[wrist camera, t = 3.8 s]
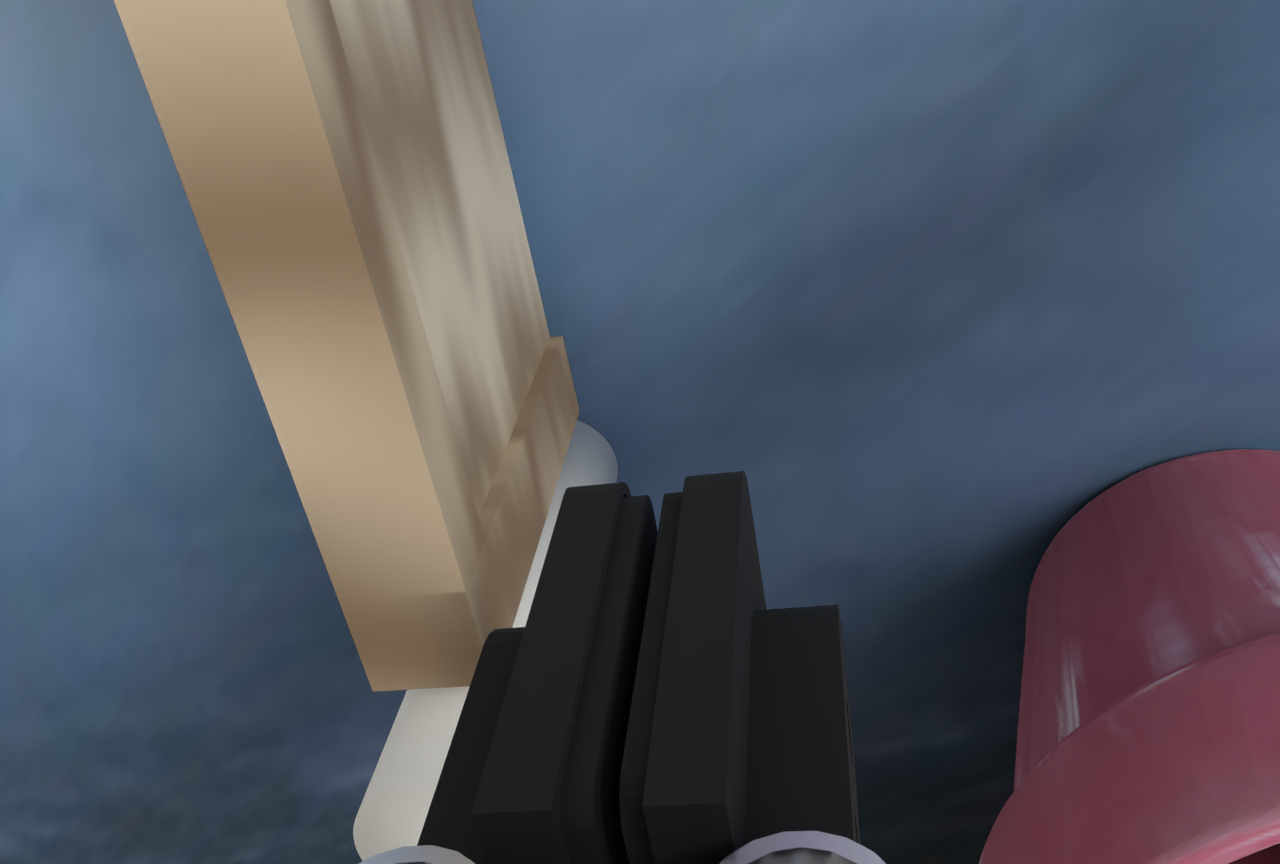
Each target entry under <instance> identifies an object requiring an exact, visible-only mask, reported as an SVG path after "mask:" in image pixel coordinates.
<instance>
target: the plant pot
mask: <svg viewBox="0 0 1280 864" xmlns="http://www.w3.org/2000/svg"><path fill="white" fill-rule="evenodd" d="M979 864H1280V451H1272V450H1255V449H1235V450H1222V451H1214V452H1206V453H1200V454H1196V455H1191V456H1186V457H1182V458H1178V459H1175V460H1171V461H1168V462H1165V463H1162V464H1159V465H1156V466H1153V467H1150V468H1147V469H1145V470H1143V471H1140V472H1138V473H1136V474H1134V475H1132V476H1130V477H1128V478H1126V479H1125V480H1123V481H1121V482H1119V483H1117V484H1116V485H1114V486H1112V487H1111V488H1109V489H1107V490H1106V491H1104V492H1103V493H1102V494H1100V495H1099V496H1097V497H1096V498H1095V499H1093V500H1092V501H1090V502H1089V503H1088V504H1087V505H1086V506H1084V507H1083V508H1082V509H1081V510H1080V511H1079V512H1078V513H1077V514H1075V515H1074V516H1073V517H1072V518H1071V519H1070V520H1069V521H1068V523H1067V524H1066V525H1065V526H1064V527H1063V528H1062V529H1061V530H1060V531H1059V532H1058V534H1057V535H1056V536H1055V538H1054V539H1053V540H1052V542H1051V543H1050V545H1049V546H1048V548H1047V550H1046V551H1045V553H1044V555H1043V556H1042V559H1041V561H1040V563H1039V565H1038V567H1037V569H1036V572H1035V574H1034V577H1033V580H1032V584H1031V588H1030V592H1029V596H1028V604H1027V612H1026V635H1025V650H1024V661H1023V671H1022V683H1021V695H1020V707H1019V719H1018V732H1017V747H1016V763H1015V779H1014V792H1013V794H1012V795H1011V796H1010V798H1009V799H1008V800H1007V802H1006V803H1005V804H1004V806H1003V808H1002V810H1001V812H1000V814H999V815H998V817H997V819H996V821H995V823H994V825H993V827H992V830H991V832H990V834H989V837H988V839H987V841H986V844H985V846H984V849H983V851H982V855H981V858H980V862H979Z"/></svg>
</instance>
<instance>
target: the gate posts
mask: <svg viewBox="0 0 1280 864" xmlns="http://www.w3.org/2000/svg"><path fill="white" fill-rule="evenodd" d="M617 477H618V464H617V459H616V456H615V454H614V451H613V449H612V447H611V446H610V444H609V443H608V442H607V440H606V439H605V438H604V437H603V436H602V435H601V434H600V433H599V432H598V431H596V430H595V429H594V428H592V427H591V426H589V425H587V424H586V423H583V422H581V421H579V420H577V421H576V424H575V428H574V431H573V434H572V437H571V441H570V444H569V447H568V450H567V453H566V457H565V460H564V463H563V466H562V469H561V473H560V476H559V479H558V482H557V486H556V489H555V492H554V495H553V498H552V502H551V505H550V508H549V511H548V515H547V518H546V521H545V524H544V527H543V531H542V534H541V537H540V540H539V543H538V547H537V550H536V553H535V556H534V560H533V563H532V566H531V569H530V572H529V576H528V579H527V582H526V585H525V589H524V592H523V595H522V598H521V601H520V605H519V608H518V611H517V614H516V617H515V621H514V624H513V627H512V628H517V627H525V626H526V622H527V619H528V615H529V612H530V609H531V605H532V602H533V598H534V595H535V591H536V588H537V585H538V581H539V578H540V574H541V571H542V567H543V564H544V560H545V557H546V554H547V550H548V547H549V543H550V540H551V536H552V533H553V530H554V526H555V523H556V519H557V516H558V512H559V509H560V506H561V502H562V499H563V495H564V493H565V490H566V488H569V487H576V486H587V485H598V484H609V483H617ZM469 687H470V686H465V687H447V688H429V689H410V690H407V691H406V694H405V696H404V699H403V701H402V704H401V706H400V709H399V711H398V714H397V716H396V719H395V721H394V724H393V726H392V729H391V731H390V734H389V736H388V739H387V741H386V744H385V746H384V749H383V751H382V754H381V756H380V759H379V761H378V764H377V766H376V769H375V771H374V774H373V776H372V779H371V781H370V784H369V786H368V789H367V791H366V794H365V796H364V799H363V801H362V804H361V806H360V809H359V811H358V814H357V816H356V819H355V822H354V826H353V837H354V843H355V846H356V849H357V851H358V853H359V855H360V857H361V859H362V860H363V861H364V860H366V859H368V858H370V857H371V856H373V855H376V854H379V853H383V852H386V851H390V850H393V849H397V848H400V847H403V846H417V844H418V841H419V838H420V835H421V832H422V829H423V826H424V823H425V820H426V817H427V814H428V811H429V808H430V805H431V802H432V799H433V796H434V793H435V790H436V787H437V784H438V781H439V778H440V775H441V772H442V769H443V765H444V762H445V759H446V756H447V753H448V750H449V747H450V744H451V741H452V738H453V735H454V732H455V729H456V726H457V723H458V720H459V717H460V714H461V711H462V708H463V705H464V702H465V699H466V696H467V693H468V690H469Z"/></svg>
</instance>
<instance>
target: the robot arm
mask: <svg viewBox="0 0 1280 864" xmlns="http://www.w3.org/2000/svg"><path fill="white" fill-rule="evenodd" d="M359 864H886V863H885V862H884V861H883V860H882V859H881V858H880V857H879V856H878V855H877V854H876V853H875V852H873V851H871V850H869V849H867V848H866V847H864V846H862V845H861V842H860V829H859V816H858V803H857V789H856V776H855V763H854V750H853V739H852V727H851V717H850V706H849V696H848V686H847V676H846V667H845V658H844V649H843V640H842V631H841V622H840V614H839V607H838V605H829V606H814V607H800V608H786V609H772V610H766V604H765V597H764V591H763V584H762V577H761V570H760V564H759V557H758V550H757V543H756V536H755V530H754V523H753V516H752V509H751V503H750V496H749V489H748V484H747V479H746V475H745V472H744V471H740V472H729V473H718V474H707V475H696V476H687V477H686V478H685V481H684V488H683V492H678V493H667V494H665V495H664V498H663V504H662V510H661V516H660V523H659V529H658V531H657V526H656V521H655V516H654V511H653V507H652V503H651V500H650V497H649V496H648V495H644V496H633V497H631V494H630V491H629V488H628V486H627V484H626V483H625V482H620V483H609V484H598V485H587V486H576V487H569V488H566V490H565V493H564V495H563V499H562V502H561V506H560V509H559V512H558V516H557V519H556V523H555V526H554V530H553V533H552V536H551V540H550V543H549V547H548V550H547V554H546V557H545V560H544V564H543V567H542V571H541V574H540V578H539V581H538V585H537V588H536V591H535V595H534V598H533V602H532V605H531V609H530V612H529V615H528V619H527V622H526V626H525V627H517V628H503V629H495V630H493V631H492V632H491V633H489V635H488V637H487V639H486V641H485V643H484V645H483V648H482V651H481V654H480V657H479V660H478V663H477V666H476V669H475V672H474V675H473V678H472V681H471V684H470V687H469V690H468V693H467V696H466V699H465V702H464V705H463V708H462V711H461V714H460V717H459V720H458V723H457V726H456V729H455V732H454V735H453V738H452V741H451V744H450V747H449V750H448V753H447V756H446V759H445V762H444V765H443V769H442V772H441V775H440V778H439V781H438V784H437V787H436V790H435V793H434V796H433V799H432V802H431V805H430V808H429V811H428V814H427V817H426V820H425V823H424V826H423V829H422V832H421V835H420V838H419V841H418V844H417V846H403V847H400V848H397V849H393V850H390V851H386V852H383V853H379V854H376V855H373V856H371V857H370V858H368V859H366V860H364V861H362V862H360V863H359Z"/></svg>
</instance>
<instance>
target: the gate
mask: <svg viewBox="0 0 1280 864" xmlns="http://www.w3.org/2000/svg"><path fill="white" fill-rule="evenodd" d="M114 3H115V5H116V8H117V11H118V13H119V16H120V19H121V21H122V24H123V27H124V29H125V32H126V35H127V37H128V40H129V43H130V45H131V48H132V51H133V53H134V56H135V59H136V61H137V64H138V67H139V69H140V72H141V75H142V77H143V80H144V83H145V85H146V88H147V91H148V93H149V96H150V99H151V101H152V104H153V107H154V109H155V112H156V115H157V117H158V120H159V123H160V125H161V128H162V131H163V133H164V136H165V139H166V141H167V144H168V147H169V149H170V152H171V155H172V157H173V160H174V163H175V165H176V168H177V171H178V173H179V176H180V179H181V181H182V184H183V187H184V189H185V192H186V195H187V197H188V200H189V203H190V205H191V208H192V211H193V213H194V216H195V219H196V221H197V224H198V227H199V229H200V232H201V235H202V237H203V240H204V243H205V245H206V248H207V251H208V253H209V256H210V259H211V261H212V264H213V267H214V269H215V272H216V275H217V277H218V280H219V283H220V285H221V288H222V291H223V293H224V296H225V299H226V301H227V304H228V307H229V309H230V312H231V315H232V317H233V320H234V323H235V325H236V328H237V331H238V333H239V336H240V339H241V341H242V344H243V347H244V349H245V352H246V355H247V357H248V360H249V363H250V365H251V368H252V371H253V373H254V376H255V379H256V381H257V384H258V387H259V389H260V392H261V395H262V397H263V400H264V403H265V405H266V408H267V411H268V413H269V416H270V419H271V421H272V424H273V427H274V429H275V432H276V435H277V437H278V440H279V443H280V445H281V448H282V451H283V453H284V456H285V459H286V461H287V464H288V467H289V469H290V472H291V475H292V477H293V480H294V483H295V485H296V488H297V491H298V493H299V496H300V499H301V501H302V504H303V507H304V509H305V512H306V515H307V517H308V520H309V523H310V525H311V528H312V531H313V533H314V536H315V539H316V541H317V544H318V547H319V549H320V552H321V555H322V557H323V560H324V563H325V565H326V568H327V571H328V573H329V576H330V579H331V581H332V584H333V587H334V589H335V592H336V595H337V597H338V600H339V603H340V605H341V608H342V611H343V613H344V616H345V619H346V621H347V624H348V627H349V629H350V632H351V635H352V637H353V640H354V643H355V645H356V648H357V651H358V653H359V656H360V659H361V661H362V664H363V667H364V669H365V672H366V675H367V677H368V680H369V683H370V685H371V688H372V691H373V692H374V691H392V690H410V689H429V688H447V687H465V686H470V684H471V681H472V678H473V675H474V672H475V669H476V666H477V663H478V660H479V657H480V654H481V651H482V648H483V645H484V643H485V641H486V639H487V637H488V635H489V633H491V632H492V631H493V630H495V629H503V628H512V627H513V624H514V621H515V617H516V614H517V611H518V608H519V605H520V601H521V598H522V595H523V592H524V589H525V585H526V582H527V579H528V576H529V572H530V569H531V566H532V563H533V560H534V556H535V553H536V550H537V547H538V543H539V540H540V537H541V534H542V531H543V527H544V524H545V521H546V518H547V515H548V511H549V508H550V505H551V502H552V498H553V495H554V492H555V489H556V486H557V482H558V479H559V476H560V473H561V469H562V466H563V463H564V460H565V457H566V453H567V450H568V447H569V444H570V441H571V437H572V434H573V431H574V428H575V424H576V421H577V418H578V415H579V412H580V410H579V406H578V402H577V397H576V393H575V388H574V384H573V379H572V375H571V370H570V366H569V362H568V357H567V353H566V348H565V344H564V339H563V336H556V337H550V335H549V330H548V326H547V322H546V317H545V313H544V309H543V304H542V300H541V296H540V291H539V287H538V283H537V278H536V274H535V270H534V265H533V261H532V257H531V252H530V248H529V244H528V240H527V235H526V231H525V227H524V222H523V218H522V214H521V209H520V205H519V201H518V196H517V192H516V188H515V183H514V179H513V175H512V170H511V166H510V162H509V157H508V153H507V149H506V144H505V140H504V136H503V131H502V127H501V123H500V118H499V114H498V110H497V105H496V101H495V97H494V92H493V88H492V84H491V79H490V75H489V71H488V66H487V62H486V58H485V53H484V49H483V45H482V40H481V36H480V32H479V27H478V23H477V19H476V14H475V10H474V6H473V1H472V0H114Z"/></svg>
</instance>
